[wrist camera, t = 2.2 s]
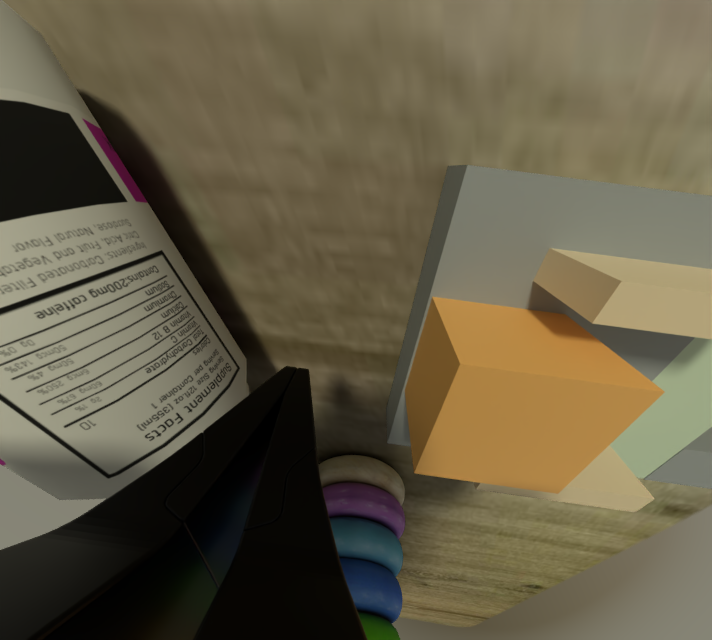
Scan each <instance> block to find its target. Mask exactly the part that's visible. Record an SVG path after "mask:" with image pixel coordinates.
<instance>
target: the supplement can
mask: <svg viewBox="0 0 712 640" xmlns="http://www.w3.org/2000/svg"><path fill="white" fill-rule="evenodd" d="M246 381H247V359H246V358H245V356H244V355H243V353H242V351H241V350H240V348H239V347H238V345H237V343H236V342H235V340H234V339H233V337H232V335H231V334H230V332H229V331H228V329H227V328H226V326H225V324H224V323H223V321H222V320H221V318H220V316H219V315H218V313H217V312H216V310H215V309H214V307H213V305H212V304H211V302H210V301H209V299H208V297H207V296H206V294H205V293H204V291H203V290H202V288H201V286H200V285H199V283H198V282H197V280H196V278H195V277H194V275H193V274H192V272H191V270H190V269H189V267H188V266H187V264H186V263H185V261H184V259H183V258H182V256H181V255H180V253H179V251H178V250H177V248H176V247H175V245H174V244H173V242H172V240H171V239H170V237H169V236H168V234H167V232H166V231H165V229H164V228H163V226H162V225H161V223H160V221H159V220H158V218H157V217H156V215H155V213H154V212H153V210H152V209H151V207H150V206H149V204H148V202H147V201H146V199H145V198H144V196H143V194H142V193H141V191H140V190H139V188H138V186H137V185H136V183H135V182H134V180H133V179H132V177H131V175H130V174H129V172H128V171H127V169H126V167H125V166H124V164H123V163H122V161H121V160H120V158H119V156H118V155H117V153H116V152H115V150H114V148H113V147H112V145H111V144H110V142H109V141H108V139H107V137H106V136H105V134H104V133H103V131H102V129H101V128H100V126H99V125H98V123H97V122H96V120H95V118H94V117H93V115H92V114H91V112H90V110H89V109H88V107H87V106H86V104H85V102H84V101H83V99H82V98H81V96H80V95H79V93H78V91H77V90H76V88H75V87H74V85H73V83H72V82H71V80H70V79H69V77H68V76H67V74H66V72H65V71H64V69H63V68H62V66H61V64H60V63H59V61H58V60H57V58H56V57H55V55H54V53H53V52H52V50H51V49H50V47H49V45H48V44H47V42H46V41H45V39H44V37H43V36H42V35H41V34H40V33H39V32H38V31H37V30H36V29H35V28H33V27H32V26H31V25H30V24H29V23H28V22H27V21H25V20H24V19H23V18H22V17H21V16H20V15H19V14H17V13H16V12H15V11H14V10H13V9H12V8H11V7H10V6H8V5H7V4H6V3H5V2H4V1H3V0H0V464H1V465H3V466H4V467H6V468H8V469H9V470H11V471H13V472H14V473H16V474H18V475H19V476H21V477H22V478H24V479H26V480H27V481H29V482H31V483H32V484H34V485H36V486H37V487H39V488H41V489H42V490H44V491H46V492H47V493H49V494H51V495H52V496H54V497H56V498H57V499H59V500H67V499H68V500H69V499H70V500H74V499H103V498H106V499H107V498H109V497H110V496H112V495H113V494H115V493H116V492H118V491H119V490H121V489H122V488H124V487H125V486H127V485H128V484H130V483H131V482H133V481H134V480H136V479H137V478H139V477H140V476H142V475H143V474H145V473H146V472H148V471H149V470H151V469H152V468H153V467H155V466H156V465H158V464H159V463H161V462H162V461H164V460H165V459H166V458H168V457H169V456H171V455H172V454H173V453H175V452H176V451H177V450H179V449H180V448H181V447H183V446H184V445H185V444H187V443H188V442H189V441H191V440H192V439H193V438H195V437H196V436H197V435H198V434H200V433H203V431H204V430H205V429H206V428H207V427H209V426H210V425H211V424H213V423H214V422H215V421H216V420H218V419H219V418H220V417H221V416H223V415H224V414H225V413H227V412H228V411H229V410H230V409H232V408H233V407H234V406H236V405H237V404H238V403H239V402H241V401H242V400H243V399H244V398H246V397H247V396H248V395H249V386H248V384H247V383H246Z"/></svg>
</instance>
